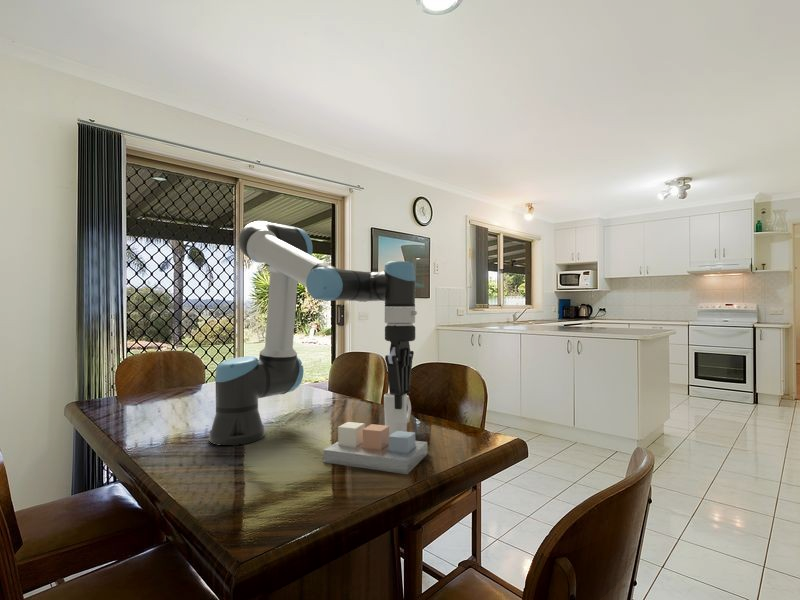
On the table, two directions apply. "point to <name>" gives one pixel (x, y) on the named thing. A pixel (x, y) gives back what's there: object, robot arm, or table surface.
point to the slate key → (402, 442)
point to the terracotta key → (376, 437)
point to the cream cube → (350, 434)
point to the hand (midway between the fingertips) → (400, 421)
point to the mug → (390, 414)
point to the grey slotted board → (375, 457)
